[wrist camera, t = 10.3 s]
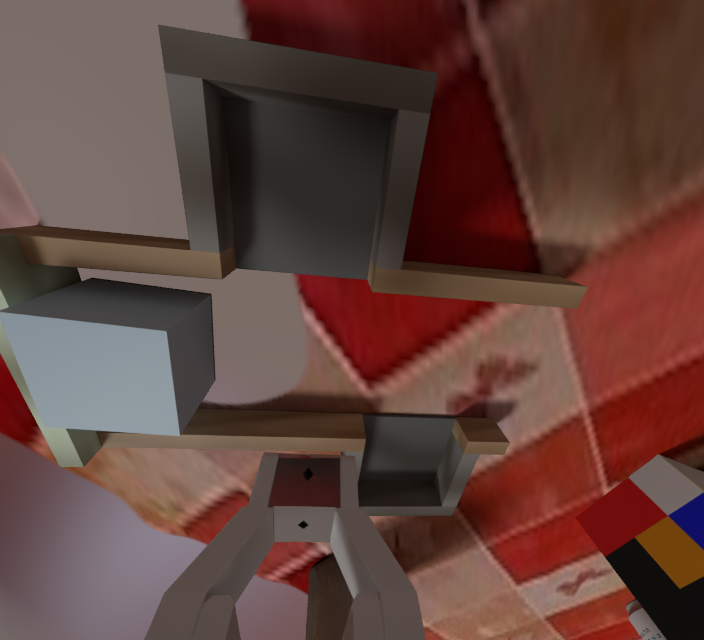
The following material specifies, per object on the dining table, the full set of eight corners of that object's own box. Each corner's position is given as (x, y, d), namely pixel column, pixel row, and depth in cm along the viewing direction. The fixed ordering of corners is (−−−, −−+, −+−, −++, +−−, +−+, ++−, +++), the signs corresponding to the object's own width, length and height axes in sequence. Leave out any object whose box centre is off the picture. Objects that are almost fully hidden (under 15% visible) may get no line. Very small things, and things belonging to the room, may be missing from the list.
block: (92, 277, 14) (-4, 311, 10) (211, 293, 15) (166, 331, 11) (114, 369, 17) (44, 427, 13) (215, 379, 17) (180, 436, 13)
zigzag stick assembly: (-41, 18, 10) (-219, -65, 7) (620, 126, 13) (716, 104, 9) (133, 487, 21) (97, 538, 18) (461, 488, 24) (481, 533, 21)
